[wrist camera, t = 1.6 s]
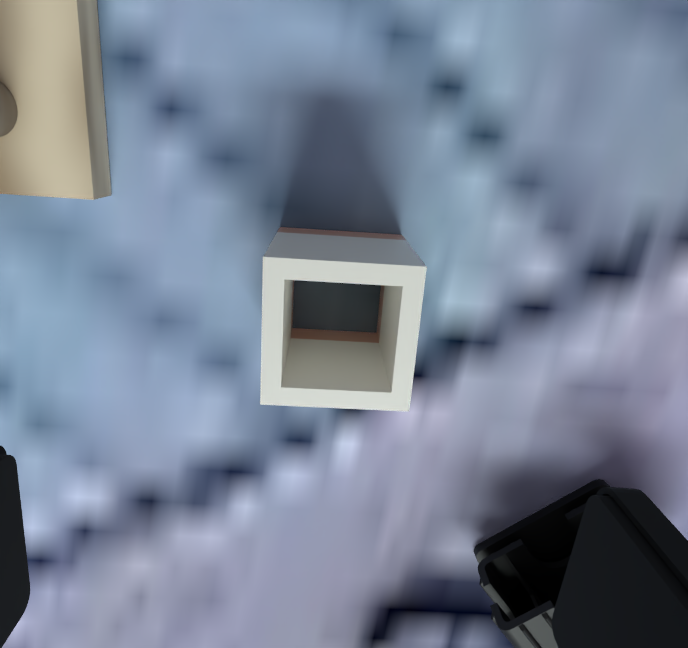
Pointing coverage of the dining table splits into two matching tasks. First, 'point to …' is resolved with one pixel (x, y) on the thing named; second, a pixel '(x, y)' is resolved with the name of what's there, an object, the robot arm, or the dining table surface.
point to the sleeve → (333, 345)
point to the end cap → (532, 568)
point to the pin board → (52, 100)
